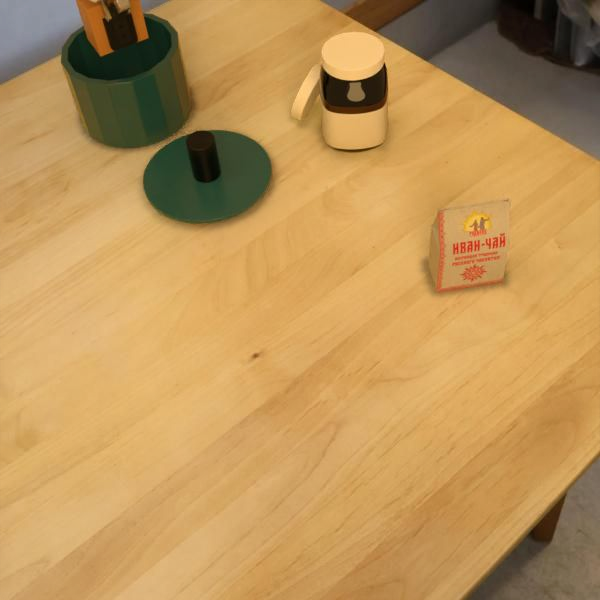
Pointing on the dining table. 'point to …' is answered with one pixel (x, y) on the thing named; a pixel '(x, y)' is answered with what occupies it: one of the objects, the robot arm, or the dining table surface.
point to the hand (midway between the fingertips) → (116, 33)
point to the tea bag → (469, 245)
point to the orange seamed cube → (95, 27)
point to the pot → (129, 86)
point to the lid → (207, 176)
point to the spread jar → (348, 92)
